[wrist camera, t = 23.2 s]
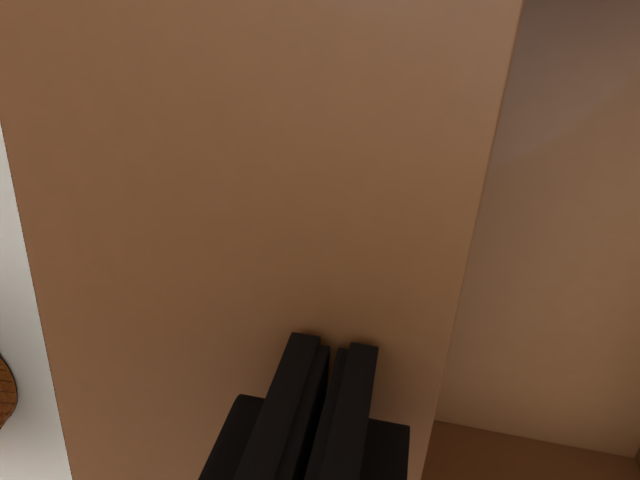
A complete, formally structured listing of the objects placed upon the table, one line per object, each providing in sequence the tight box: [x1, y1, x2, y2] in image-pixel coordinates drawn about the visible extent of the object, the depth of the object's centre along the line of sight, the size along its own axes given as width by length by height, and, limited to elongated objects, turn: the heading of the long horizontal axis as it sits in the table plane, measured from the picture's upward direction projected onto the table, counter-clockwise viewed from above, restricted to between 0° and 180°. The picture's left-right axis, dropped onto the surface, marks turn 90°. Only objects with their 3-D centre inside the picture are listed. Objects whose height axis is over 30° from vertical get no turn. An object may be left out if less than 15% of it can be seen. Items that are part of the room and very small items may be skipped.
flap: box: [0, 0, 525, 480], centre depth 11 cm, size 8×16×1 cm, turn 176°
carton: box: [421, 0, 640, 480], centre depth 14 cm, size 17×16×7 cm
